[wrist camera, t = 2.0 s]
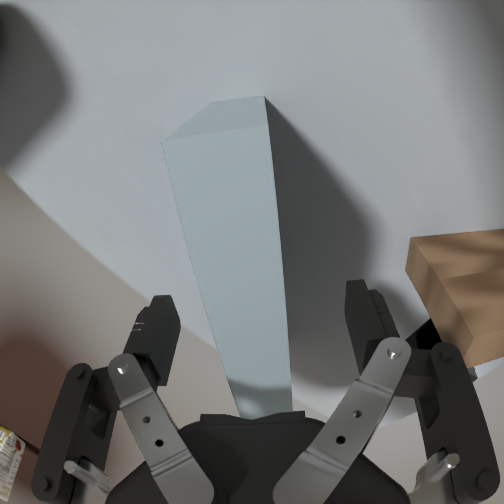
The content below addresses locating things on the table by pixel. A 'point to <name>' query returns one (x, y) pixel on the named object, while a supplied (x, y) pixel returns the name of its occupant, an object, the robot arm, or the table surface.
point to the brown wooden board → (463, 289)
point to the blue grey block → (235, 246)
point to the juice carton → (9, 460)
